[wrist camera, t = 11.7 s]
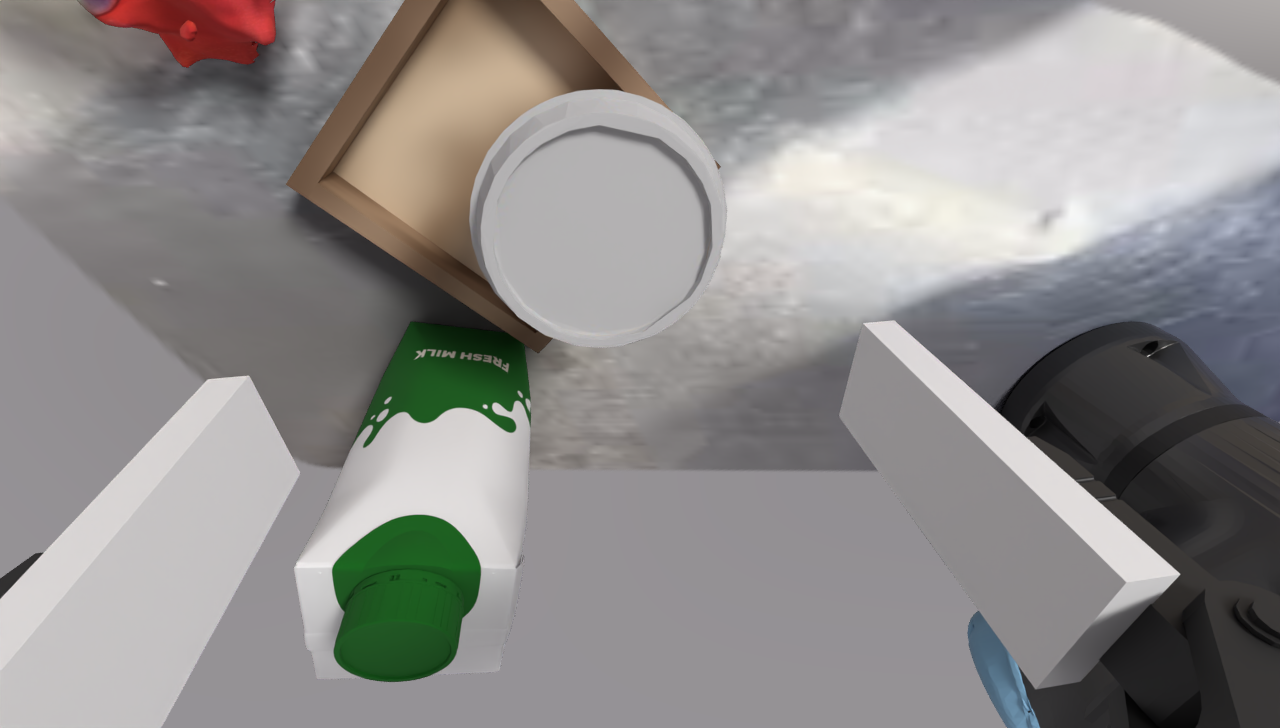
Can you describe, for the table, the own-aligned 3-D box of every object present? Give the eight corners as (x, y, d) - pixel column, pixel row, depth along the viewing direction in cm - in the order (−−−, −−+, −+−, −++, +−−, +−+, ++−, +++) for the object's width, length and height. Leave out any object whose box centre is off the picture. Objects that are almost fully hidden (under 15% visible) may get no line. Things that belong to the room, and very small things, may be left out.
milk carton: (538, 323, 34) (534, 611, 18) (523, 428, 39) (509, 732, 22) (394, 305, 32) (237, 616, 16) (397, 419, 37) (278, 748, 20)
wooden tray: (706, 153, 30) (720, 166, 27) (538, 328, 34) (538, 353, 32) (483, -98, 22) (476, -111, 20) (309, 168, 27) (285, 184, 25)
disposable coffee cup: (518, 260, 31) (509, 378, 21) (467, 78, 25) (422, 122, 15) (676, 231, 31) (739, 333, 21) (659, 47, 26) (734, 70, 16)
